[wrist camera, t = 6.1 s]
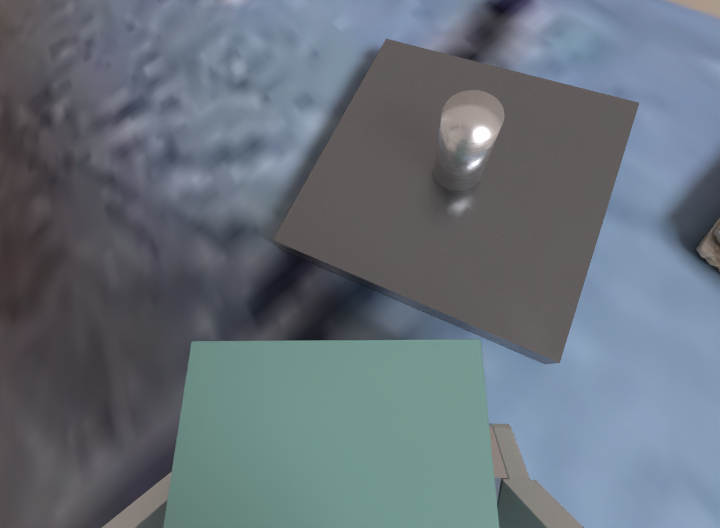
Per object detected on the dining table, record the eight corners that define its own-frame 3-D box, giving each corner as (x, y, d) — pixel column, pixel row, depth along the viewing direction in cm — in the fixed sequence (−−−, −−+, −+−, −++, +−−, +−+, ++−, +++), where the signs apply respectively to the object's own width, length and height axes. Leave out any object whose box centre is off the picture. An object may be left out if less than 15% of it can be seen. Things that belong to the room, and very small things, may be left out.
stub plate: (281, 250, 19) (237, 201, 14) (386, 60, 22) (383, -37, 17) (545, 364, 16) (617, 357, 11) (621, 123, 19) (704, 28, 14)
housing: (300, 506, 15) (132, 722, 6) (307, 361, 17) (191, 341, 7) (441, 512, 14) (523, 767, 5) (433, 362, 16) (480, 339, 7)
